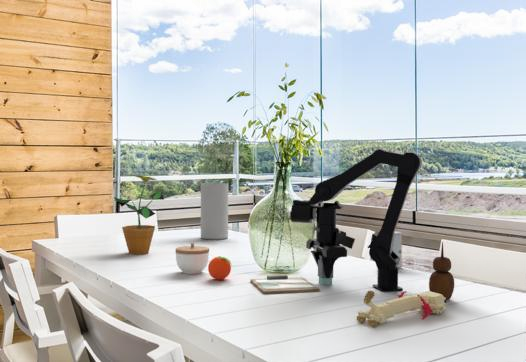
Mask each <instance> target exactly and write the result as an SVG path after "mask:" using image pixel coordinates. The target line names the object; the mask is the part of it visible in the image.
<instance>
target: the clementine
mask: <svg viewBox="0 0 526 362" xmlns="http://www.w3.org/2000/svg"><path fill="white" fill-rule="evenodd" d="M232 265H233V264H232V262H231V260H230V259H229V258H227V257H225V256H224V257H223V256H221V255H220V256H216V257H215V256H214V257H213V258H212V259H211V260H210V261H209V263H208V264H207V269H208V273H209V275H210V277H211V278H213V279H215V280H218V281H221V280H225V279H226V278H228V276H230V274H231V270H232V267H233V266H232Z"/></svg>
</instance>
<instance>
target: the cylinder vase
mask: <svg viewBox="0 0 526 362" xmlns="http://www.w3.org/2000/svg"><path fill="white" fill-rule="evenodd" d="M228 237H229V183H226V182H225V183H223V182H205V183H203V182H202V183H200V238H201V239H203V240H209V241H211V240H212V241H215V240H216V241H217V240H218V241H219V240H226V239H228Z"/></svg>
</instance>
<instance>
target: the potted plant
mask: <svg viewBox="0 0 526 362" xmlns="http://www.w3.org/2000/svg"><path fill="white" fill-rule="evenodd" d="M135 177H136V178H140V179H141V180H142V181H143V182H144V184H143V188H142V191H141V194H140V198H139V202H138V208H137V207H136V205H135V203H134V202H133V199H131V198H130V199H129V198H128V199H127V198H125V199H122V198H118V197H113V199H114V200H115V201H116V202H117V203H118V205H120V207H121V208H122V207H124V206H126V207H127V208H128V209H130V210H132V211H136V214H137V217H138V218H137V219H138V220H137V221H138V223H137V224H136V225H135V224H134V225H133V224H132V225H125V226H122V227H121V228H122V232H123V236H124V240H125V243H126V246H127V251H128V253H129V254H130V255H137V256H138V255H146V254H147V255H148V254H149V252H150V248H151V244H152V240H153V236H154V232H155V229H156V227H155V225H147V224H141V217H143V218H145V219H149V218H150V217H153V216H154V215H155V214H156V212H154V211H152V209H150V208H149V207H148V206H150V205H151V203H152V202H153V200H156V201H157V200H161V201H162V200H165V199H164V195H163V192H162V189H161V190H160V189H159V191H156V192H154V193H153V194H151V195H150V198H151V200H150V201H149V202H148V203H147V205H143V206H141V203H142V197H143V194H144V191H145V190H144V189H145V185H146V183H147V182H148V181H155V180H156V181H157V179H156V178H154V177H150V176H143V175H139V174H138V175H135ZM130 201H131V202H132V204H133V205H132V204H129V202H130Z"/></svg>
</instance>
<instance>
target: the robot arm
mask: <svg viewBox="0 0 526 362" xmlns="http://www.w3.org/2000/svg"><path fill="white" fill-rule="evenodd" d="M381 164H384V165H387V166H393V167H396V168H397V171H396V183H395V186H394V189H393V192H392V195H391V198H390V201H389V204H388V208H387V210H386V213H385V215H384V218H383V219H384V220H383V223H382V225H381V229H380V230H379V232H377V231H375V232H374V233H372V234H371V238H370V239H371V240H370V243H369V245H368V246H367V249H369V251H368V254H369V257H370V259H371V260H372V261H373V262H375V265H376V268H377V278H376V279H377V284H372V287H373V288H375V289H378V290H379V291H380V292H388V291H391V292H392V291H403V290H404V288H403V287H401V286H399V268H398V267H397V265H398V263H399V261H400V258H399V257H398V256H397V255H396V254H395V253H394V251H393V245H394V234H395V232H396V229H397V226H398V223H399V220H400V217H401V214H402V212H403V208H404V205H405V202H406V200H407V196H408V193H409V190H410V187H411V186H412V185H413V182H414V180H415V179H416V177H417V176H418V173H419V172H420V170H421V168H422V167H423V166H422V164H423V160H422V158H421V156H420V155H419V154H417V153H415V152H411V151H409V152H404V153H398V152H392V151H387V150H385V149H379V148H378V149H376V150H375V151H373V152H372V153H370V155H368V156H366V157H365V158H363V159H362V160H360V161H359V162H357V163H356V164H354V165H352V166H351V167H349V168H348V169H347V170H344V171H343V172H342V173H340V174H338V175H335V176H333V177H331V178H330V177H329V178H328V179H325V180H322V181H320V182H318V183H317V184H316V186H315V189H314V194H313V195H312V196H311V197H310V198H309V200H300V199H293V200H292V205H291V208H290V212H289V213H290V214H289V216H290V220H291V223H296V224H297V223H298V224H299V223H301V224H311V223H312V222H313V221H316V226H313V230H314V231H315V234H316V235H315V238H309V239H308V240H306V242H305V243H306V246H305V247H306V249H308V250H310V253H311V254H312V256H313V258H314V261H315V264H316V266H317V267H318V259H320V261H321V264H322V267H323V271H324V274H325V277H326V278H330V275H331V272H332V269H333V270H334V266H335V262H336V261H338V259H340V258H347V257H348V249H347V248H349V249H351V250H352V249H353V246H354V244H355V240H356V238H354V237H350V236H349V235H347V232H346V231H344V230H340V229H339V227H337V210H341V209H343V208H344V205H342V204H341V203H340V201H339V200H335V201H334V202H328V201H332V200H334V199H335V198H337V197H338V196H339V195H340V194H341V193H343V191H344V190H345V189H346V188H347V187H348V186H350V185H351V184H352V183H353V182H355V181H357V180H358V179H359V178H361V177H362V176H364V175H366V174H368V173H369V172H371V171H373V170H374V169H376V168H377V167H379V166H380V165H381ZM323 202H324V203H323ZM322 203H323V204H322ZM317 204H322V205H317ZM311 249H313V250H311Z"/></svg>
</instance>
